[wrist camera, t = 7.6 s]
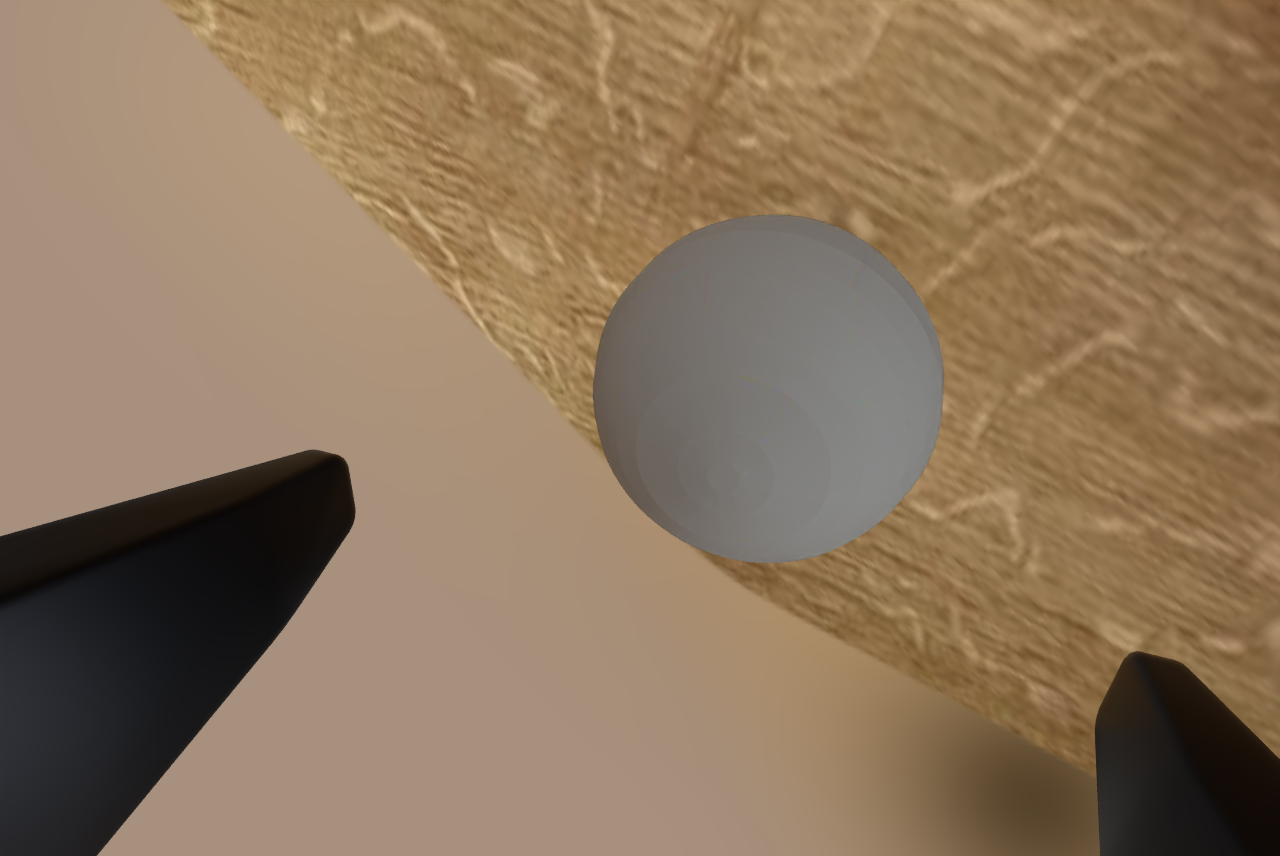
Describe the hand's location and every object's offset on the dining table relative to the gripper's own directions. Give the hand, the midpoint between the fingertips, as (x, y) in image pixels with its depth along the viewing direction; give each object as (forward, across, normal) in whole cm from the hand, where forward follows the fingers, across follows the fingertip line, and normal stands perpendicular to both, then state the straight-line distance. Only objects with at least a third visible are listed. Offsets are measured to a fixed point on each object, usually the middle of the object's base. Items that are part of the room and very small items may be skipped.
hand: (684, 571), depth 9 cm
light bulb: (+12, 0, 0) cm, 12 cm away
